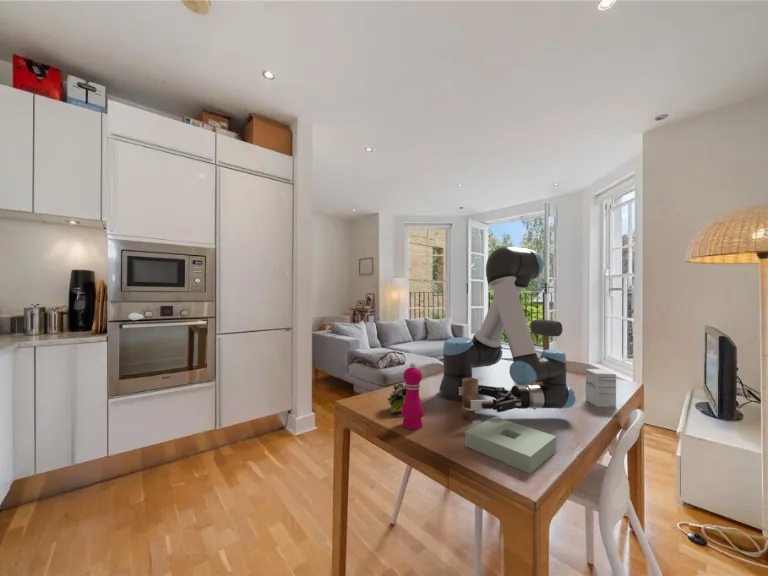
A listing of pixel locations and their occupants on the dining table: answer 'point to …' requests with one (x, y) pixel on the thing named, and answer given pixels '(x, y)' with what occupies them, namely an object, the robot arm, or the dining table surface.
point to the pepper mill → (412, 399)
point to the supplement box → (601, 387)
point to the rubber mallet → (546, 330)
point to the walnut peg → (469, 396)
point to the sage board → (511, 443)
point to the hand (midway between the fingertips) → (464, 397)
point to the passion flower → (397, 398)
